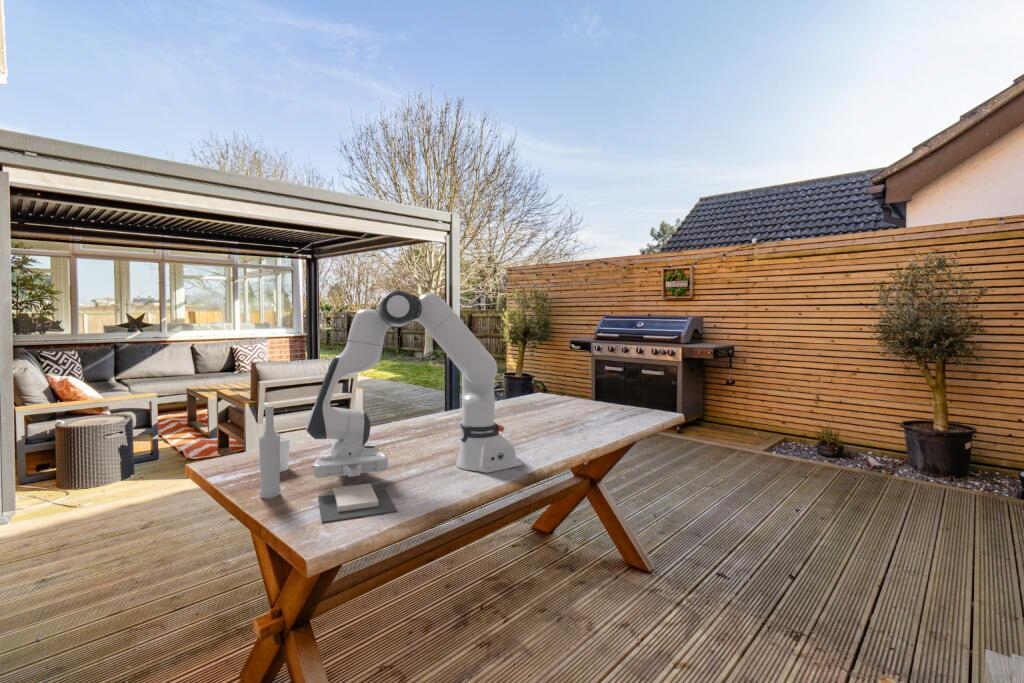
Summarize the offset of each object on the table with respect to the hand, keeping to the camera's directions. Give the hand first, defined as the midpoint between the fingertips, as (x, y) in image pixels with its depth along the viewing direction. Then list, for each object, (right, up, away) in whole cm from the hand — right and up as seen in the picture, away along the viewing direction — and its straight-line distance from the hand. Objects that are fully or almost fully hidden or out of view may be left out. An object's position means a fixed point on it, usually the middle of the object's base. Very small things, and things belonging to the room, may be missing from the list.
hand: (354, 473), depth 131 cm
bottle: (-24, -7, +1) cm, 25 cm away
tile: (-2, -5, +5) cm, 8 cm away
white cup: (-32, -5, +23) cm, 40 cm away
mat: (+2, -7, -4) cm, 8 cm away
